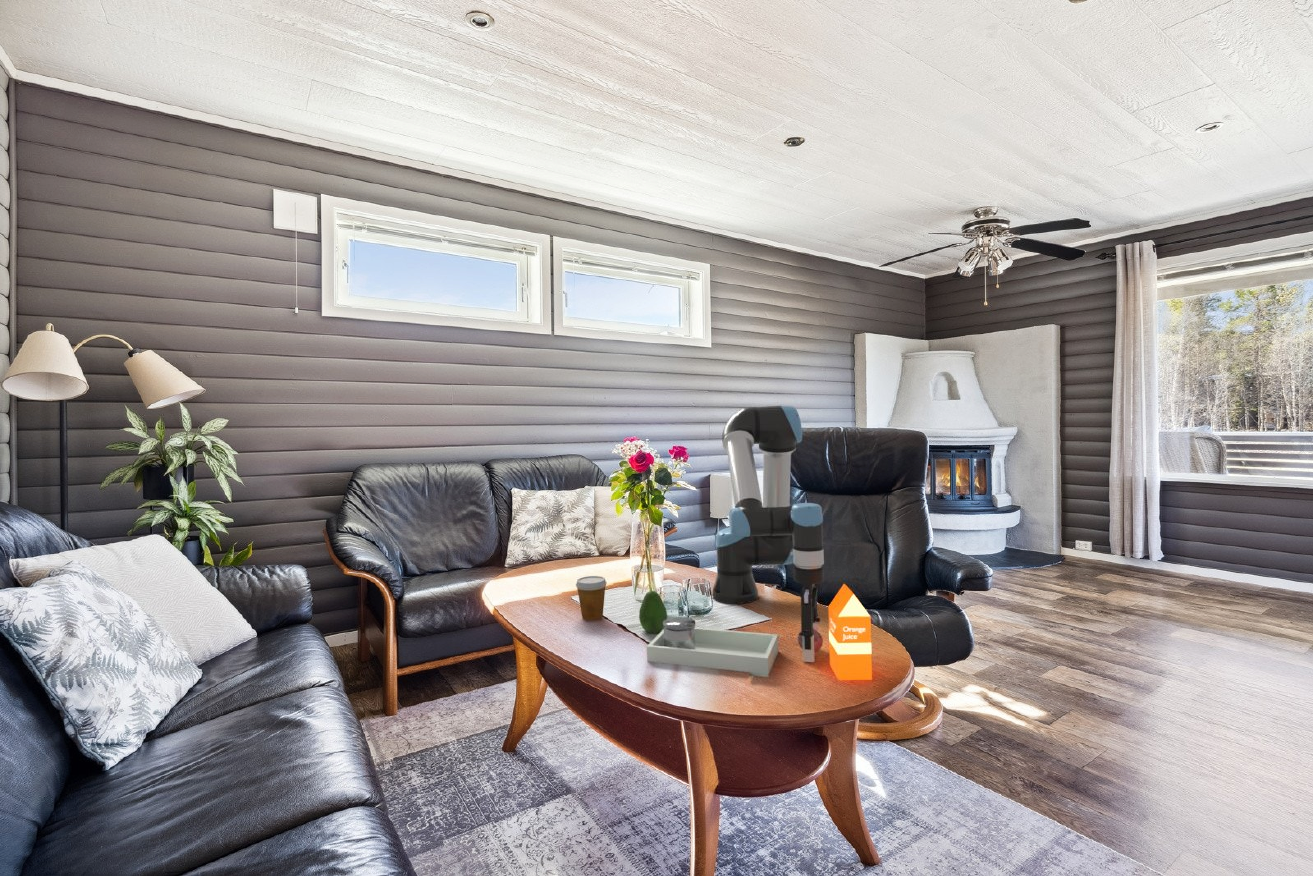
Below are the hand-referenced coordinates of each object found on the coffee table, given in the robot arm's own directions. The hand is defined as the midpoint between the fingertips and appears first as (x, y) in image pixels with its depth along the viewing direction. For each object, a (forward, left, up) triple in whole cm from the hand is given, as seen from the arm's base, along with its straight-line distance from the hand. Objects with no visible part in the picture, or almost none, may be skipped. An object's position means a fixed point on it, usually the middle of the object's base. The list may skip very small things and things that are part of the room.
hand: (810, 654), depth 157 cm
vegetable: (0, 0, 0) cm, 0 cm away
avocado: (-5, -44, 0) cm, 44 cm away
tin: (+8, -32, +1) cm, 33 cm away
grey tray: (+8, -23, 0) cm, 24 cm away
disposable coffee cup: (-13, -67, 0) cm, 68 cm away
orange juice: (+8, +10, 0) cm, 13 cm away
